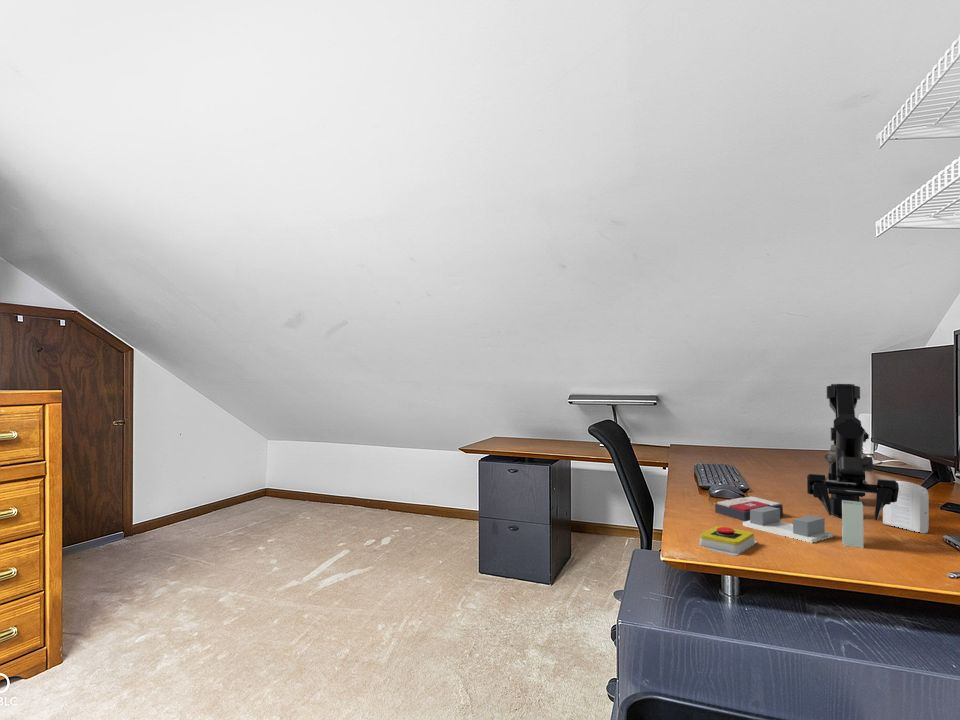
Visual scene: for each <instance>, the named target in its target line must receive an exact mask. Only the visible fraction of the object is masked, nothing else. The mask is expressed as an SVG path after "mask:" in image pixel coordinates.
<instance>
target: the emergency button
mask: <svg viewBox="0 0 960 720" xmlns="http://www.w3.org/2000/svg"><path fill="white" fill-rule="evenodd" d="M754 535H755V534H754V532H752V531H748V530H743V529H737V528H734V527H733V528H731V527H726V526H723V525H722V526H720V525H715V526H713V527H712V528H709V529H708V530H706V531H704V532H702V533H700V534H699V544H698V545H700V546H704V547H707V549H708V548H709V550H708V551H710V550H712V551H711V552H714V551H716V552H715V553H718V554H719V553H720V554H723V553H724V554H725V555H729V556H734V557H736V556H739V555H741V554H742V553H745V550H746V549H747V550H749V549H751V546H752V547H754V546H755V545H757V544H758V541H757V540H755V538H754V537H755V536H754ZM756 543H757V544H756ZM754 544H755V545H754ZM748 548H749V549H748ZM747 550H746V551H747Z"/></svg>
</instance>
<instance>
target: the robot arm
mask: <svg viewBox="0 0 960 720" xmlns="http://www.w3.org/2000/svg"><path fill="white" fill-rule="evenodd" d="M826 399H827V400H829V401H828V402H829V403H828V404H829V405H828V406H829V407H830V409H831V410H832V412H834V414H835V415H834V416H835V418H834V419H833V427H830V441H832V442H833V444H835V445H836V449H835V450H836V460H835V461H834V462H833V464H832V465H831V473H829V472H828V473H827V477H828V480H825V479H826V474H822V473H808V474H807V477H806V478H807V479H806V480H807V482H806V483H807V484H806V485H807V486H806V487H807V489H806V491H807V494H808V495H810V496H811V495H812V496H813V498H817V499H818V500H819V501H820V503H821V504H822V506H823V507H824V508H825V510H826V512H827V514H828V515H829V516H832V515H833V516H835V517H837V518H841V519H842V500H846V501H856V502H859V499H860V498H864V497H866V494H876V496H875V499H876V500H875V507H874V520H875V521H878V520H879V517H880V514H881V512H882V511H883V507H884V506H885V505H886V504H888V505H889V504H891V502H893V503H894V502H897V498H898V492H899V486H898V483H897V482H896V481H897V480H895V479H884V478H883V479H881V478H877V481H876V484H873V483H872V484H870V483H868V484H866V482H867V481H866V472H873V470H874V461H873V457H872V456H867V457H863V458H862V451H861V450H862V449H863V448H864V443H866V442H867V440H870V439H869V437H870V435H869V433H867V431H866V430H865V428H863V426H862V421H861V420H860V419H859V418H858V417H856V410H855V409H856V408H857V403H858V400H861V387H860V386H858V385H855V384H854V383H830V385H826ZM835 489H836V490H835ZM829 495H830V497H831V498H830V497H829Z"/></svg>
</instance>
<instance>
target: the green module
mask: <svg viewBox="0 0 960 720" xmlns="http://www.w3.org/2000/svg"><path fill="white" fill-rule="evenodd" d="M841 521H842V522H841V530H842V531H841V533H842V534H841V539H842V540H841V541H842V546H844V545H845V546H846V547H851V546H852V547H853V548H861V549H864V505H863V504H862V502H856V501H846V500H842V518H841Z"/></svg>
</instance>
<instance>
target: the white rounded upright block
mask: <svg viewBox="0 0 960 720" xmlns="http://www.w3.org/2000/svg"><path fill="white" fill-rule="evenodd" d="M895 481H896V482H897V483H898V486H899V492H898V498H897V502H894V503H893V502H891V504H889V505H888V504H886V505H885V506H884V507H883V509H882V523H883V524H884V525H887V526H889V527H890V526H892V527H894V526H895V528H898V527H899V528H898V529H902V528H903V530H906V529H907V530H906V531H911V532H914V531H915V533H918V532H920V533H919V534H928V532H929V526H930V525H929V521H930V520H929V519H930V518H929V515H930V514H929V513H930V512H929V510H930V509H929V505H930V503H929V502H930V501H929V499H930V498H929V495H930V494H929V492H928V489H927V488H925V487H923V486H922V485H919V484H917V483H913V482H909V481H903V480H895Z"/></svg>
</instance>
